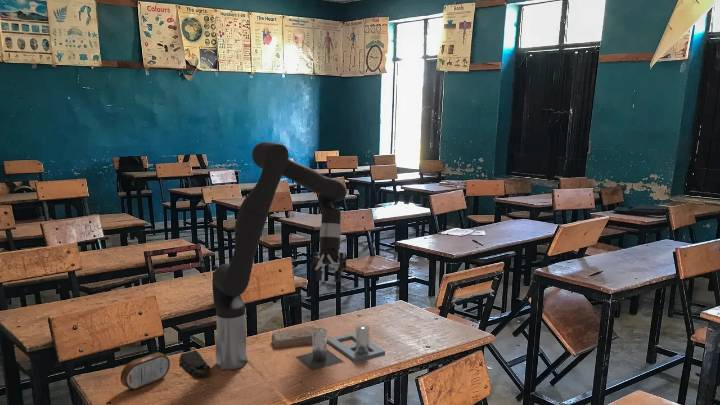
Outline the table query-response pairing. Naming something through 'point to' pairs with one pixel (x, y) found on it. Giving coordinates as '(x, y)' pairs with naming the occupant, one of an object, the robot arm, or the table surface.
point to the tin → (145, 370)
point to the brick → (292, 337)
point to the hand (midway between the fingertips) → (327, 281)
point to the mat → (312, 365)
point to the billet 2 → (362, 339)
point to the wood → (194, 364)
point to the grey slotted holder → (354, 348)
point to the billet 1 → (319, 344)
